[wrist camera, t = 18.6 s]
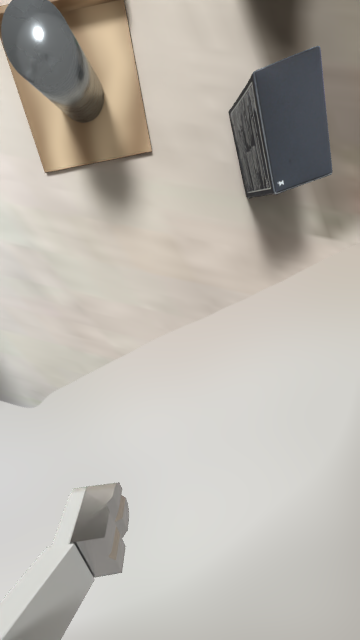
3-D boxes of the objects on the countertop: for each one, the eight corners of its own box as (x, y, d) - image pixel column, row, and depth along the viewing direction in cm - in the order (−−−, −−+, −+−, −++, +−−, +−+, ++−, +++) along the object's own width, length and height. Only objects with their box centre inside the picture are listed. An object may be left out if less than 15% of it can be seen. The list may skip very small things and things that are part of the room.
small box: (293, 182, 36) (337, 175, 27) (246, 199, 37) (272, 198, 27) (279, 89, 32) (325, 40, 23) (226, 110, 33) (250, 71, 23)
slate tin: (65, 126, 33) (18, 91, 23) (48, 69, 31) (-12, 2, 20) (109, 117, 32) (82, 78, 22) (95, 59, 30) (58, -14, 20)
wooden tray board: (46, 172, 35) (38, 170, 33) (-71, -181, 24) (-93, -217, 22) (151, 151, 34) (150, 148, 32) (82, -220, 23) (74, -261, 21)
